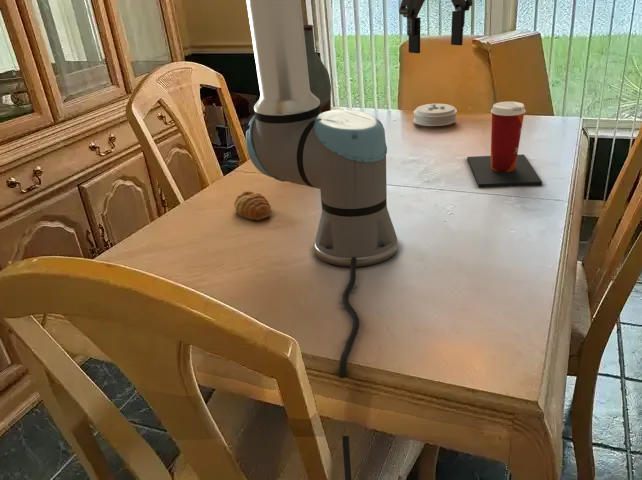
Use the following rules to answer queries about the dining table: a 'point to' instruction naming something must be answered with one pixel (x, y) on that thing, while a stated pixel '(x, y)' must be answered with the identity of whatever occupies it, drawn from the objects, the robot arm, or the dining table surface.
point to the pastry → (252, 206)
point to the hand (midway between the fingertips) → (436, 49)
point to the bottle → (317, 72)
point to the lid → (435, 115)
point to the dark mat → (503, 173)
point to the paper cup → (506, 135)
